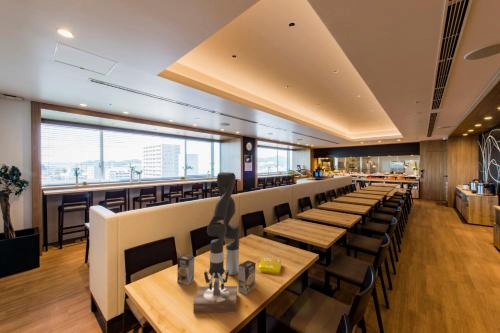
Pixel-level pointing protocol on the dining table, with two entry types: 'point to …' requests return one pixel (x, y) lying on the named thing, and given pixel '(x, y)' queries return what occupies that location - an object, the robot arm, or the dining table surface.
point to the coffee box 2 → (246, 277)
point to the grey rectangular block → (216, 288)
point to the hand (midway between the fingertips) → (216, 289)
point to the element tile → (270, 266)
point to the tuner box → (223, 300)
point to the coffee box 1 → (185, 269)
